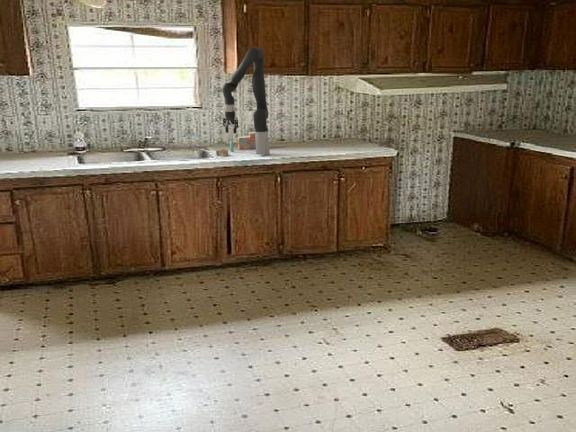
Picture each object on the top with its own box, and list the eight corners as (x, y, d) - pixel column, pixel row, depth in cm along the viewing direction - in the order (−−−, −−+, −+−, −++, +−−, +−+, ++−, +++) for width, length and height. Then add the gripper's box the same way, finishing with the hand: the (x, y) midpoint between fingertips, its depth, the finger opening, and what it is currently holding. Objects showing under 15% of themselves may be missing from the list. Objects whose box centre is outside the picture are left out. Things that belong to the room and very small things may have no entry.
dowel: (232, 153, 415) (231, 141, 413) (234, 153, 414) (233, 141, 411) (230, 153, 414) (229, 141, 411) (232, 153, 412) (231, 141, 410)
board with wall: (223, 155, 405) (223, 149, 403) (231, 157, 399) (231, 150, 398) (216, 157, 400) (215, 150, 398) (224, 158, 394) (223, 151, 393)
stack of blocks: (239, 149, 429) (238, 133, 426) (238, 148, 435) (237, 132, 432) (266, 148, 433) (265, 132, 429) (265, 146, 439) (264, 131, 435)
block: (223, 154, 403) (223, 149, 402) (228, 155, 400) (228, 149, 398) (218, 155, 399) (217, 150, 398) (222, 156, 396) (222, 150, 395)
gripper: (240, 110, 403) (241, 133, 407) (227, 109, 412) (228, 131, 417) (232, 111, 397) (233, 134, 402) (219, 110, 407) (220, 132, 411)
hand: (230, 132), depth 409 cm, fingers open, 8 cm apart
